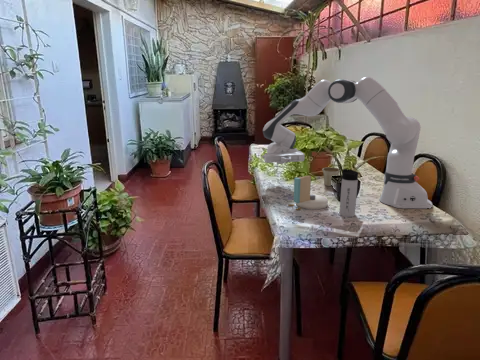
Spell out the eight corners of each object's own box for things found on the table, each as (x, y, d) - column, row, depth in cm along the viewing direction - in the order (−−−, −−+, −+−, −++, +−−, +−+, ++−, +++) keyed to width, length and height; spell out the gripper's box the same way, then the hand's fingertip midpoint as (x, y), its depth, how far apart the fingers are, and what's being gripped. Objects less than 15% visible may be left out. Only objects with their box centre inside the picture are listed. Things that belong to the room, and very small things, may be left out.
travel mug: (345, 212, 159) (349, 167, 154) (357, 217, 154) (361, 171, 148) (335, 215, 156) (338, 169, 151) (347, 220, 151) (351, 173, 145)
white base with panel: (312, 197, 176) (313, 169, 172) (334, 205, 164) (336, 176, 161) (285, 203, 167) (285, 174, 163) (306, 212, 156) (307, 182, 152)
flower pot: (339, 187, 195) (340, 172, 193) (321, 186, 197) (322, 171, 195) (338, 183, 204) (339, 167, 202) (321, 182, 206) (322, 167, 204)
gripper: (261, 149, 189) (267, 155, 176) (299, 148, 192) (308, 153, 179) (261, 161, 191) (267, 167, 178) (299, 160, 194) (307, 166, 181)
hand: (288, 160), depth 178 cm, fingers closed
